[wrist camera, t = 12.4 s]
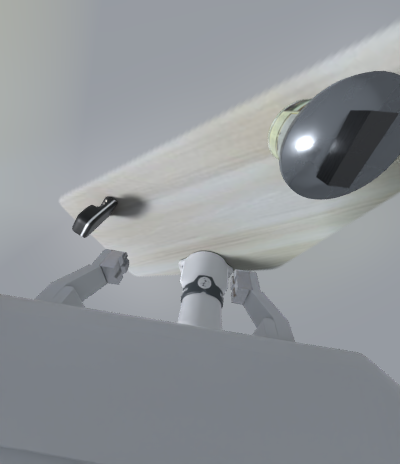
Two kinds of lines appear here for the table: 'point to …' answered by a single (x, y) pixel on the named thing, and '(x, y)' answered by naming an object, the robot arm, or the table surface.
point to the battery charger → (93, 217)
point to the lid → (343, 136)
